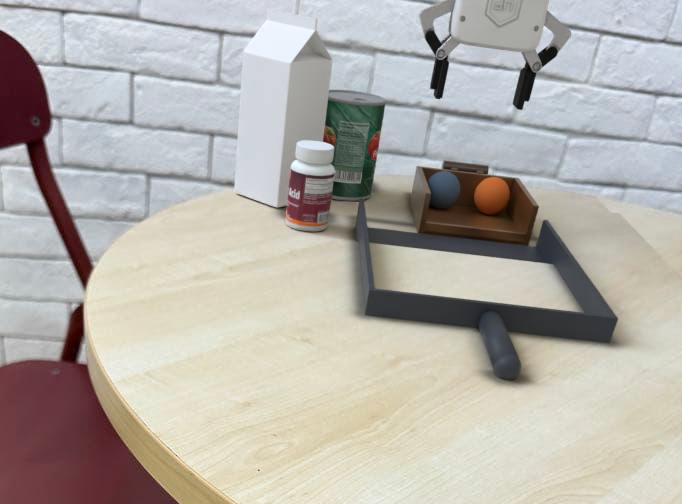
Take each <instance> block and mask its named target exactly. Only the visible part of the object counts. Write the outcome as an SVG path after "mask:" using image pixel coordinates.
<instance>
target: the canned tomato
mask: <svg viewBox="0 0 682 504" xmlns="http://www.w3.org/2000/svg"><path fill="white" fill-rule="evenodd" d="M386 104H387V99H386V98H385V97H384V96H380V95H378V94H374V93H370V92H364V91H359V90H358V91H357V90H350V89H329V95H328V103H327V112H326V120H325V128H324V137H323V142H325V143H328V144H331V145H333V146H334V155H333V161H332V162H330V163H331V164H332V165H333V167H334V169H335V175H334V182H333V190H332V197H331V200H338V201H346V202H347V201H348V202H359V199H360V198H363V199H364V201H365V200H368V199H370V198H371V197H372V191H373V184H374V177H375V173H376V172H375V171H376V166H377V161H378V160H377V159H378V154H379V147H380V141H381V134H382V127H383V122H384V116H385V108H386Z"/></svg>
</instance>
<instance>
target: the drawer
mask: <svg viewBox="0 0 682 504" xmlns="http://www.w3.org/2000/svg"><path fill="white" fill-rule="evenodd" d="M489 168H490V167H489V165H487V164H478V163H471V162H461V161H453V160H445V159H444V160H443V161H442V163H441V168H438V167H428V166H421V165H420V166H419V165H417V166H416V168H415V173H414V179H413V185H412V189H411V194H410V200H409V206H410V210H411V213H412V217H413V220H414V225H415V229H416V233H422V234H430V235H439V236H448V237H456V238H465V239H473V240H482V241H490V242H499V243H508V244H516V245H525V246H530V242H531V238H532V234H533V232H534V231H533V230H534V228H535V223H536V220H537V216H538V213H539V209H540V205H539V204H538V203H537V200H535V199H534V197H533V195H532V194H531V193H530V192H529V190H528V188H527V187H526V186H525V185H524V183H523V182H522V181H521V178H520V177H513V176H505V175H497V174H489V170H490V169H489ZM441 171H447V172H450V173H452V174H454V175H455V176H456V177H457V179H458V180H459V183H460V195H459V197H458V199H457V201H456V202H455V203H454V204H453V205H452V206H450V207H448V208H445V209H438V208H435V207H433V206H432V205H430V204H429V203H430V198H431V192H430V189H429V186H428V184H427V182H428V180H429V179H430V177H431V176H433V175H434V174H435V173H437V172H441ZM490 177H497V178H500V179H502V180H504V181H505V182H506V184H507V185H508V187H509V190H510V198H509V201H508V203H507V205H506V207H505V208H504V209H503V210H502V211H500V212H499V213H496V214H492V215H489V214H484V213H482V212H481V211H480V210H479V209H478V208H477V207H476V205H475V202H474V193H475V190H476V188H477V186H478V185H479V184H480V183H481V182H482V181H483V180H485V179H487V178H490Z"/></svg>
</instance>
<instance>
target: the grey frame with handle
mask: <svg viewBox="0 0 682 504" xmlns="http://www.w3.org/2000/svg"><path fill="white" fill-rule="evenodd" d="M367 221H368V220H367V212H366V205H365V200H364V199H363V198H360V199H359V201H358V206H357V212H356V218H355V226H354V231H355V232H354V233H355V242H358V254H359V263H360V275H361V285H362V297H363V298H362V299H363V310H364V316H368V317H377V318H385V319H394V320H403V321H411V322H420V323H427V324H437V325H446V326H455V327H464V328H473V329H479V332H480V335H481V337H482V340H483V343H484V346H485V349H486V351H487V352H486V353H487V354H488V357H489V360H490V363H491V365H492V369H493V371H494V374H495V375H496V376H497V377H498V378H500V379H502V380H507V381H510V380H511V381H512V380H514V379H516V378H518V376H519V375H520V374H521V371H522V362H521V359H520V357H519V354H518V352H517V350H516V348H515V345H514V343H513V341H512V338H511V336H510V334H509V333H515V334H516V333H517V334H523V335H532V336H533V335H534V336H541V337H542V336H543V337H551V338H558V339H568V340H575V341H577V340H578V341H585V342H594V343H603V344H610V343H611V341H612V337H613V335H614V333H615V330H616V326H617V323H618V320H619V318H618V316H617V315H616V313H615V312H614V311H613V309H612V308H611V306H610V305H609V304H608V302H607V301H606V300H605V298H604V297H603V295H602V294H601V292H600V291H599V290H598V289H597V287H596V286H595V284H594V283H593V281H592V280H591V278H590V277H589V275H588V274H587V273H586V272H585V270H584V269H583V267H582V266H581V264H580V263H579V262H578V260H577V259H576V258H575V256H574V255H573V254H572V251H570V249H569V248H568V246H567V245H566V244H565V242H564V240H563V239H562V238H561V236H560V235H559V234H558V232H557V231H556V230H555V228H554V227H553V225H552V224H551V223H550V221H549V220H548V219H543V220H542V223H541V227H540V230H539V234H538V237H537V238H538V239H537V241H536V245H535V246H532V245H528V246H525V245H516V244H508V243H499V242H490V241H482V240H473V239H465V238H456V237H448V236H439V235H430V234H422V233H418V232H412V231H404V230H395V229H388V228H378V227H370V226H368V222H367ZM370 244H374V245H375V244H376V245H384V246H392V247H393V246H394V247H402V248H409V249H420V250H427V251H436V252H444V253H445V252H446V253H454V254H461V255H462V254H463V255H471V256H477V257H478V256H480V257H488V258H496V259H505V260H513V261H520V262H521V261H522V262H531V263H540V264H547V265H553V267H554V268H555V269H556V271H557V272H558V274H559V275H560V277H561V278H562V280H563V281H564V283H565V284H566V286H567V289H569V291H570V292H571V294H572V296H573V297H574V299H575V300H576V302H577V303H578V305H579V307H580V308H581V310H582V311H583V312H581V311H572V310H564V309H556V308H547V307H538V306H529V305H523V304H522V305H521V304H513V303H512V304H511V303H504V302H495V301H487V300H478V299H468V298H460V297H451V296H444V295H443V296H442V295H434V294H427V293H426V294H425V293H416V292H408V291H401V290H400V291H399V290H391V289H384V288H383V289H382V288H375V280H374V271H373V264H372V255H371V247H370Z"/></svg>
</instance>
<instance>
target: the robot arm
mask: <svg viewBox="0 0 682 504" xmlns="http://www.w3.org/2000/svg"><path fill="white" fill-rule="evenodd" d="M549 2H550V0H442V1H440V2H438V3H436V4H433V5H431V6H428V7H427V8H426V7H425V8H424V9H421V10H420V12H419V14H418V16H419V17H418V18H419V21H420V27H421V29H422V33H423V38H424V40H425V42H426V43H427V45H428V47H429V48H430V50H431V51H432V53H433V55H434V56H435V58H434V64H433V69H432V73H431V80H430V83H429V84H430V85H429V89H430V90H433V96H434V98H435V99H436V100H441V99H443V97H444V96H443V95H444V90H445V86H446V83H447V76H448V71H449V67H450V61H449V60H448V59H449V55H450V54H451V53H452V52H453V51H454V50H455V49H456V48H457V47H458V46H459V45H465V46H471V47H476V48H485V49H493V50H500V51H506V52H507V51H508V52H515V53H516V52H517V53H520V54H521V55H522V58H523V60H524V62H525V64H524V67H522V68H521V69H520V72H519V75H518V79H517V83H516V87H515V91H514V95H513V99H512V105H513V106H514V108H516V110H520V111H522V110H523V109H524V106H525V102H526V103H527V102H529V101H530V100H531V97H532V92H533V88H534V84H535V80H536V77H537V73H539V72H541V70H542V69H543V68H544V67H545V66H547V64H549V63H550V62H551V61H553V60H554V59H555V58H557V56H558V53H559V52H560V51H561V50H562V49H563V48H564V47H565V45H566V44H567V42H568V41H569V40H570V38H571V36H572V31H571V30H570V29H569V28H568V27H567V26H565V24H564V23H562V22H561V20H559V19H558V18H557V17H556V16H555V15H554V14H552V13H551V12H550V11H549V10H548V8H549ZM447 14H450V15H449V21H448V33H447V35H446V36H445V37H444V38H443V39H442V40H440V38H439V37H438V34H436V31H435V26H434V22H435V20H436V19H438V18H440V17H443V16H445V15H447ZM544 27H545V28H546V29H548V31H550V32H551V33H552V35H553V37H552V39H551V40H550V42H549V44H548V45H546V47H544V48H543V49H542V50H540V51H539V52H537V50H536V49H537V48H538V46H539V45H540V42H541V39H542V35H543V32H544Z"/></svg>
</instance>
